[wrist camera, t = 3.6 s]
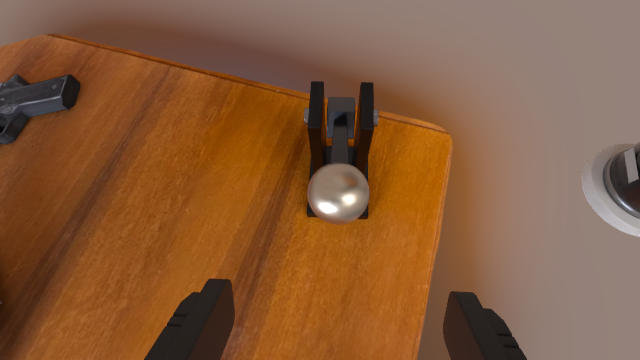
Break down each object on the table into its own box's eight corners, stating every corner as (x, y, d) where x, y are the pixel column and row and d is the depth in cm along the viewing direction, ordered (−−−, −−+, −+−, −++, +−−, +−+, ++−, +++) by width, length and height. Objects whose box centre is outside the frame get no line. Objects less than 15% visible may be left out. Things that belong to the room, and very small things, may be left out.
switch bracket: (367, 219, 38) (388, 156, 23) (307, 217, 38) (291, 153, 23) (367, 151, 41) (385, 60, 27) (312, 149, 42) (301, 58, 27)
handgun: (26, 206, 40) (-61, 198, 41) (85, 84, 47) (10, 80, 48) (9, 200, 38) (-84, 192, 39) (73, 73, 45) (-6, 68, 46)
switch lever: (368, 239, 18) (374, 189, 16) (305, 236, 18) (302, 186, 16) (360, 129, 29) (363, 90, 27) (320, 128, 29) (320, 89, 27)
